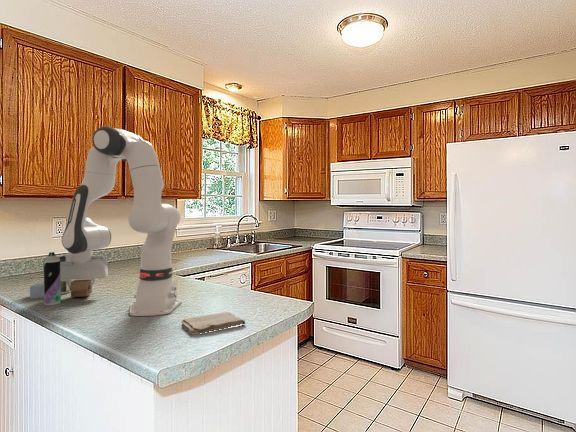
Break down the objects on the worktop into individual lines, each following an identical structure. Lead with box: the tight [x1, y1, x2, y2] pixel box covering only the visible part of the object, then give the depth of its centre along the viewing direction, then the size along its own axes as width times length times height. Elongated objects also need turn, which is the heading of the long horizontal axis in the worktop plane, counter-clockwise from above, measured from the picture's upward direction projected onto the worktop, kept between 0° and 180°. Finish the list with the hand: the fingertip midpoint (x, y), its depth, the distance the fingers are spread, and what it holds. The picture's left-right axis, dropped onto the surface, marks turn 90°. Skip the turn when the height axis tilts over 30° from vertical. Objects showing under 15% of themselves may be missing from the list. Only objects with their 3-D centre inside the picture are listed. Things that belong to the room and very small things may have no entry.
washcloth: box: [180, 311, 246, 336], centre depth 118 cm, size 12×18×3 cm, turn 125°
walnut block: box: [70, 279, 93, 298], centre depth 152 cm, size 6×6×6 cm
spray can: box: [42, 251, 62, 306], centre depth 141 cm, size 6×6×20 cm
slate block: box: [29, 282, 44, 299], centre depth 151 cm, size 5×5×5 cm
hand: (81, 289), depth 152 cm, fingers closed on walnut block, 6 cm apart
